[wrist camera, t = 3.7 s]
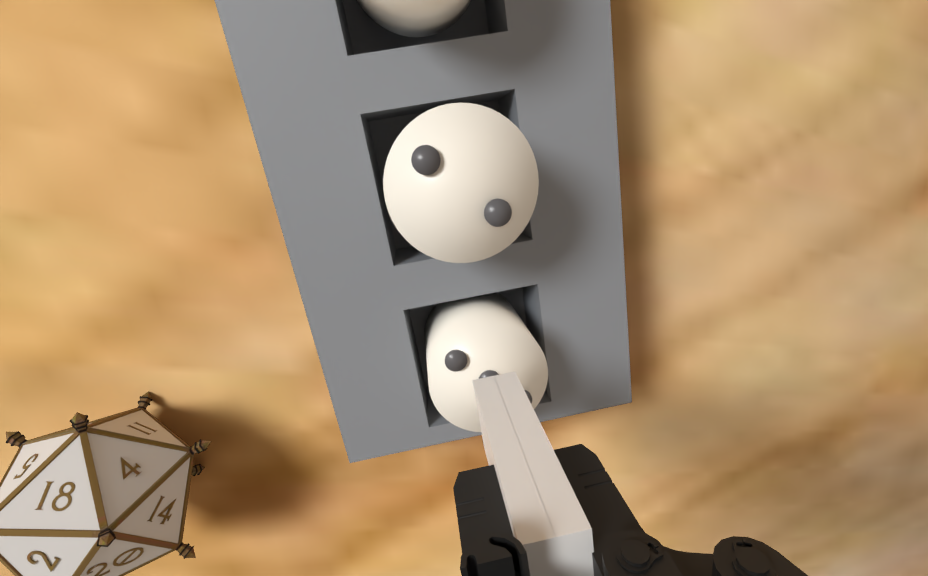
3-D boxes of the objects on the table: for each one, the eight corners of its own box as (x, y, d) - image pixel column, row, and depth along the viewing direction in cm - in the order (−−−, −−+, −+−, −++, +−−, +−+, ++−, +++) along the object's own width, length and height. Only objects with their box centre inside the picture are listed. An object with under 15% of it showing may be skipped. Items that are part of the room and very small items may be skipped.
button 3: (416, 297, 22) (417, 338, 17) (513, 279, 22) (542, 313, 17) (434, 385, 23) (440, 445, 19) (525, 366, 24) (554, 420, 19)
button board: (218, -101, 17) (164, -173, 14) (559, -145, 18) (598, -225, 14) (359, 415, 25) (349, 462, 21) (598, 365, 25) (631, 402, 22)
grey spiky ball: (205, 382, 27) (252, 417, 19) (185, 526, 26) (225, 622, 19) (-6, 385, 21) (-58, 436, 14) (-40, 570, 20) (-115, 735, 13)
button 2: (378, 127, 18) (366, 116, 13) (497, 107, 18) (530, 89, 13) (403, 246, 19) (400, 277, 14) (513, 226, 20) (547, 249, 15)
